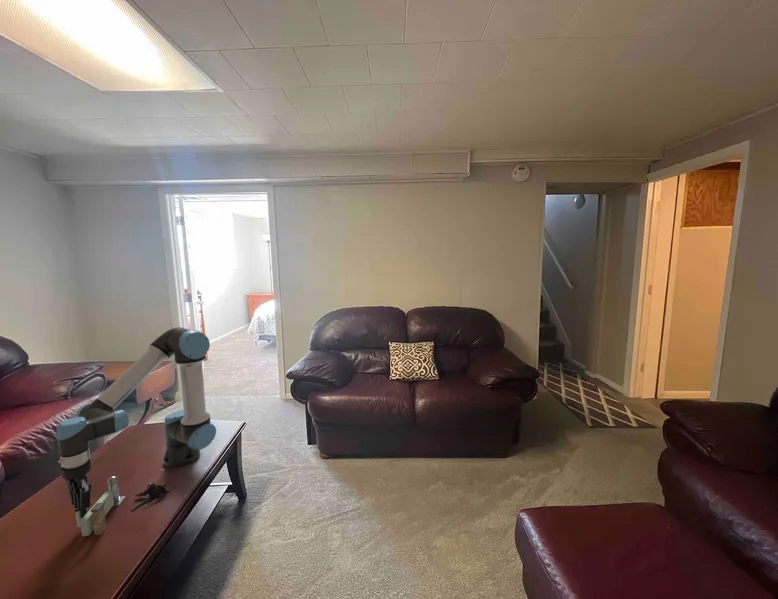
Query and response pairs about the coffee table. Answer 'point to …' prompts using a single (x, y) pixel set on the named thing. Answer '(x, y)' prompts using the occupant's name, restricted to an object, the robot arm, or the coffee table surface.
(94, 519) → the block
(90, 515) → the gate
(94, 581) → the coffee table surface
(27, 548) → the coffee table surface
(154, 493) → the stuffed animal
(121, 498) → the hinge post
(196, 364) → the robot arm
